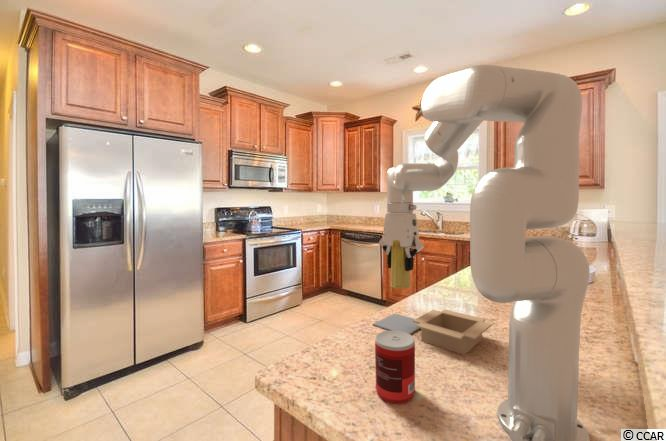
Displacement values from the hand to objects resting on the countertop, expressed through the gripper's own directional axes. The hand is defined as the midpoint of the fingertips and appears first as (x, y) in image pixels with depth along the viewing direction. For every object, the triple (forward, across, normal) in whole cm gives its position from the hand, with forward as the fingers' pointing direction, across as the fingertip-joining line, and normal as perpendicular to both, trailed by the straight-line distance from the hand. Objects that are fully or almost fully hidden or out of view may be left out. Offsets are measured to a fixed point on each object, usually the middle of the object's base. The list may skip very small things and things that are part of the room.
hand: (400, 268), depth 96 cm
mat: (+17, 0, 0) cm, 17 cm away
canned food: (+18, -18, +30) cm, 39 cm away
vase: (+6, 0, 0) cm, 6 cm away
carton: (+17, -16, 0) cm, 24 cm away
